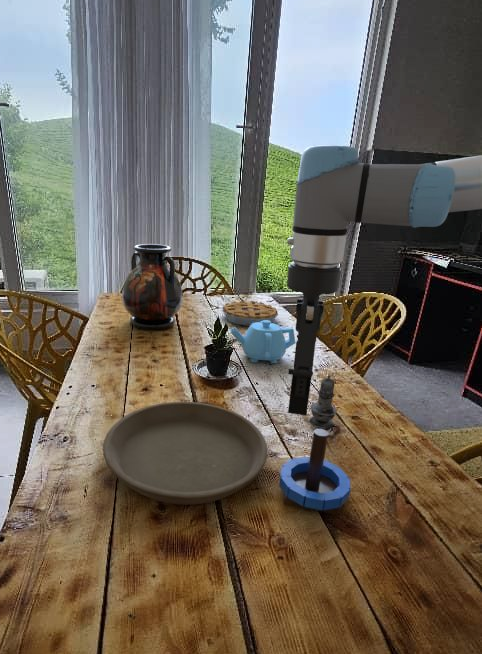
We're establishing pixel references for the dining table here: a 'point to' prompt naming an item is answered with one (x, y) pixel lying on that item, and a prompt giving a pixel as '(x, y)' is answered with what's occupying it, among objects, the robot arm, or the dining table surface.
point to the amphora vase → (152, 288)
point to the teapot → (265, 341)
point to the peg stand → (315, 472)
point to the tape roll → (309, 497)
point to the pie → (249, 312)
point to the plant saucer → (185, 452)
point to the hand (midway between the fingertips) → (298, 393)
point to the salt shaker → (324, 405)
